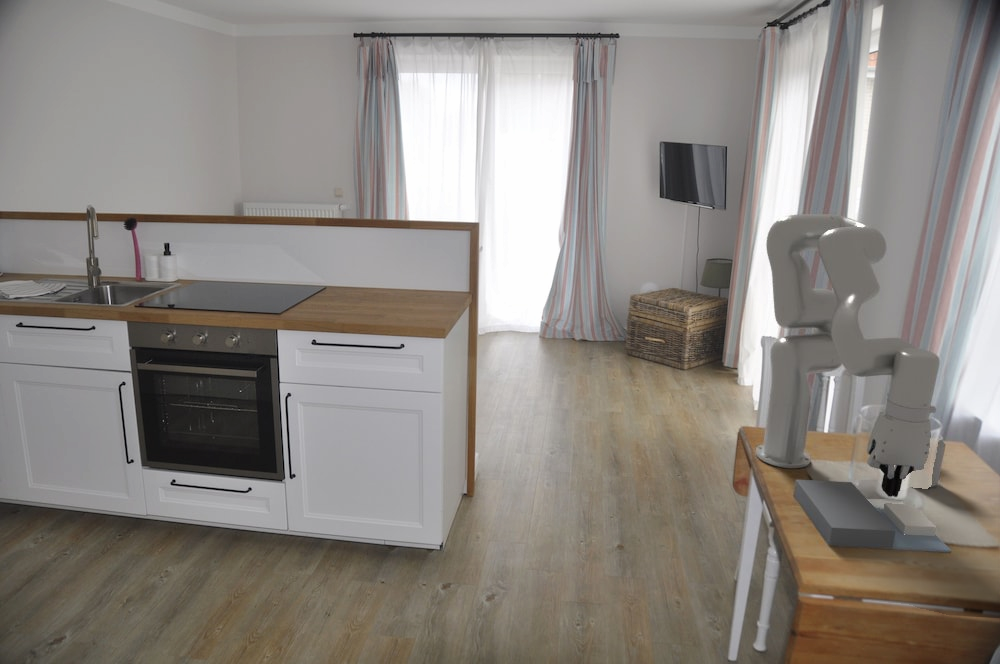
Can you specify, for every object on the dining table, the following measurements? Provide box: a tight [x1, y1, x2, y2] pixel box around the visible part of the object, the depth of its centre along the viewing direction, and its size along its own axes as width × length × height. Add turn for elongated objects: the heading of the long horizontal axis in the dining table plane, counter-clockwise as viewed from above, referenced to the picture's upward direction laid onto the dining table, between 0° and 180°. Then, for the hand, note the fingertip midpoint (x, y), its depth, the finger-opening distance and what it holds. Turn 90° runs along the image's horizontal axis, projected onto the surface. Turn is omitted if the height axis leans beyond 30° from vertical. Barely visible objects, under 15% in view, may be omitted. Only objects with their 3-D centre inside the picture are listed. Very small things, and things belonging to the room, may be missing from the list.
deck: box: [793, 479, 896, 550], centre depth 143 cm, size 20×12×4 cm, turn 176°
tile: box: [883, 503, 937, 536], centre depth 142 cm, size 9×6×2 cm, turn 176°
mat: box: [875, 507, 952, 553], centre depth 143 cm, size 20×11×1 cm, turn 176°
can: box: [931, 434, 946, 488], centre depth 160 cm, size 8×8×12 cm
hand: (889, 493), depth 142 cm, fingers closed
